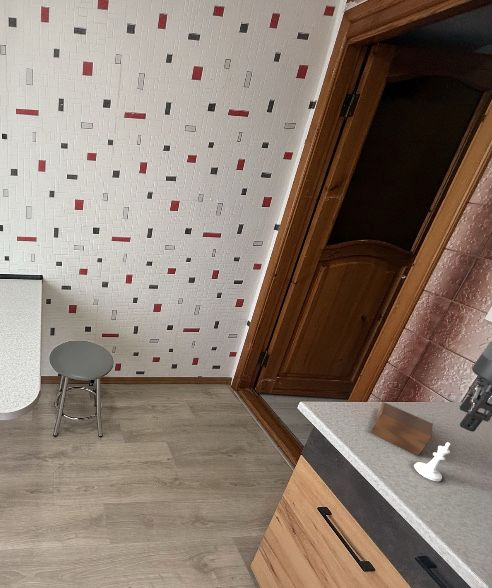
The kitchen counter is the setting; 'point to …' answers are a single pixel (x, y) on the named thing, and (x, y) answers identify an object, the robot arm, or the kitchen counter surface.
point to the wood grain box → (401, 428)
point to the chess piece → (433, 464)
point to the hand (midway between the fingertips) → (465, 419)
